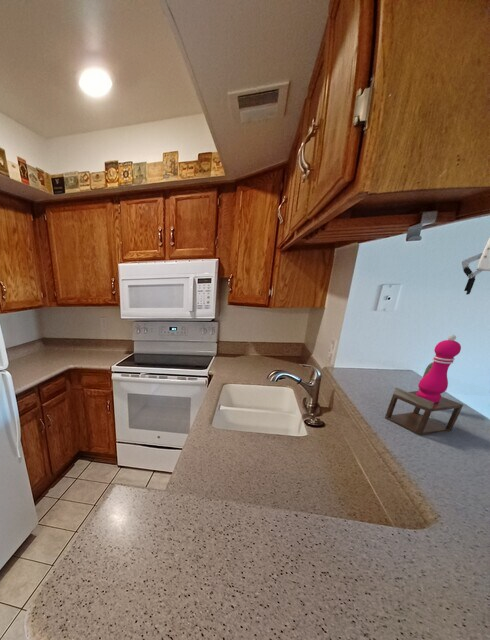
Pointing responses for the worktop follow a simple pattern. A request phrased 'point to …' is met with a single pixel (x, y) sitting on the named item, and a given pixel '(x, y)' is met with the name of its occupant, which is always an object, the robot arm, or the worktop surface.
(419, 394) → the pepper mill
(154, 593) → the worktop surface
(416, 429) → the shelf
